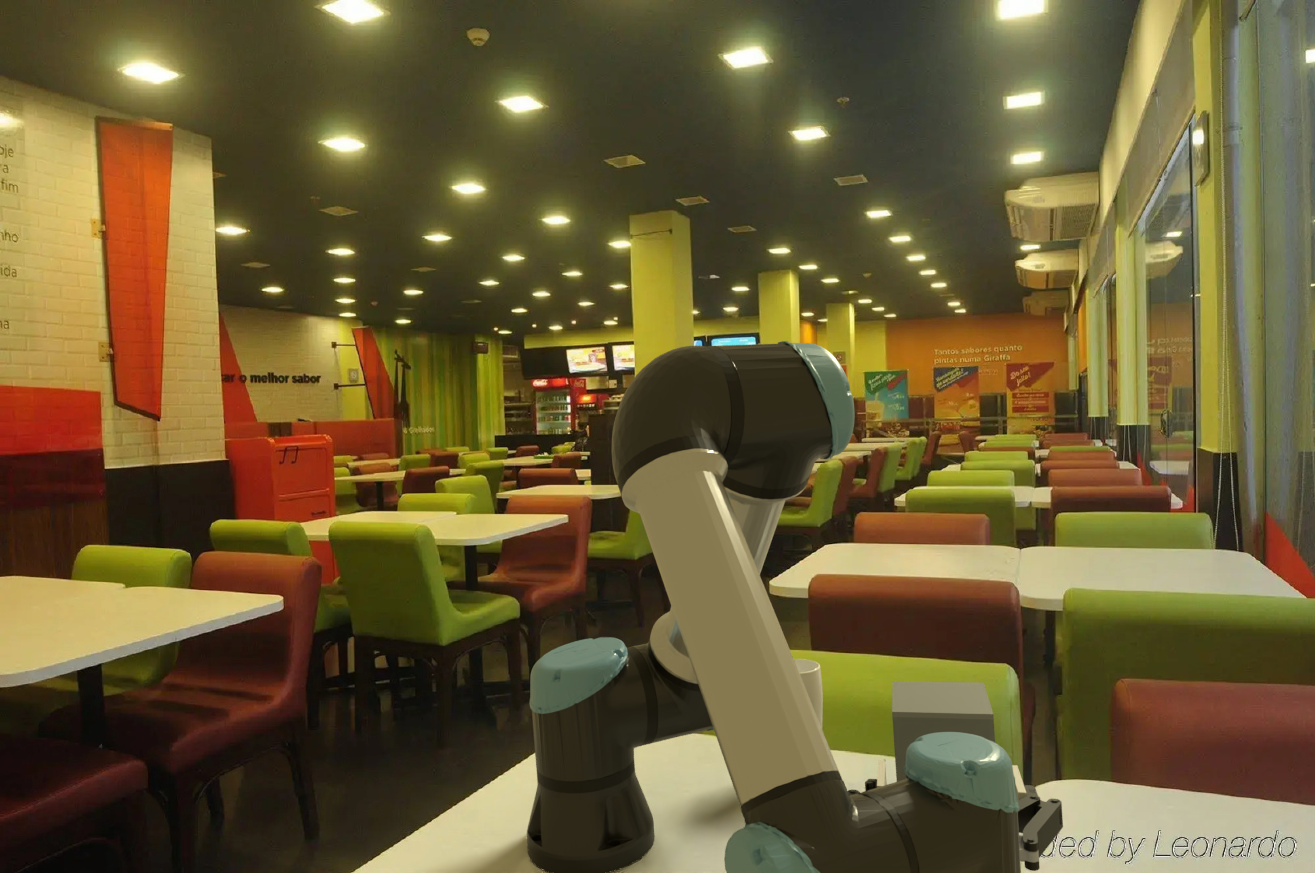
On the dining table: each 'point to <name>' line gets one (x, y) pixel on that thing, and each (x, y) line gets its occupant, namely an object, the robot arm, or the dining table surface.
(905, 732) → the tall grey box
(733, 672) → the robot arm
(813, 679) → the drinking glass
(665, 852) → the dining table surface
